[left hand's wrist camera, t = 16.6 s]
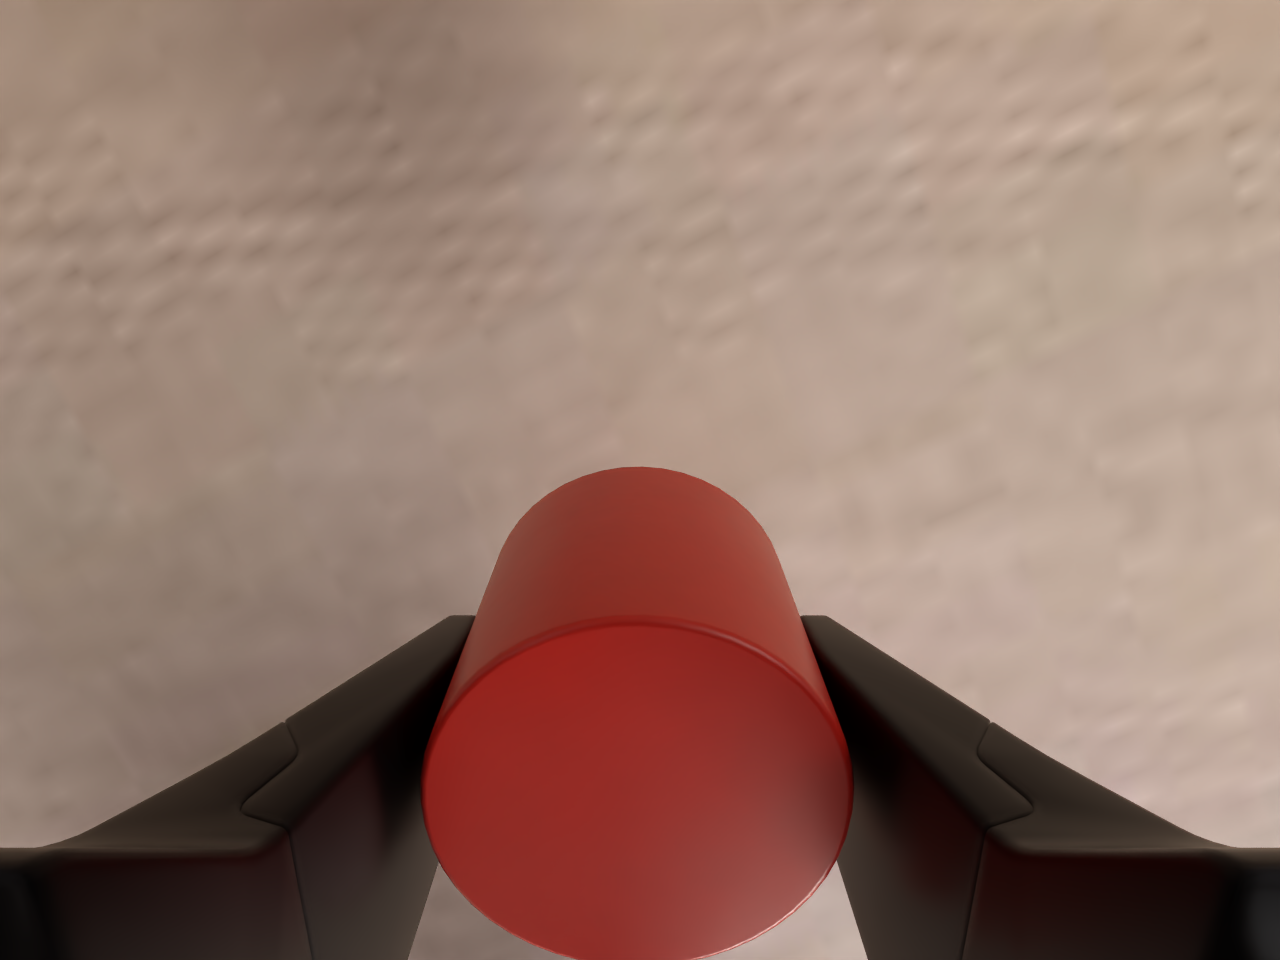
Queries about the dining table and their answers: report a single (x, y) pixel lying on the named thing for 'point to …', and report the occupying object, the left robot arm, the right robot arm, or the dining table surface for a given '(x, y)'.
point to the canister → (637, 730)
